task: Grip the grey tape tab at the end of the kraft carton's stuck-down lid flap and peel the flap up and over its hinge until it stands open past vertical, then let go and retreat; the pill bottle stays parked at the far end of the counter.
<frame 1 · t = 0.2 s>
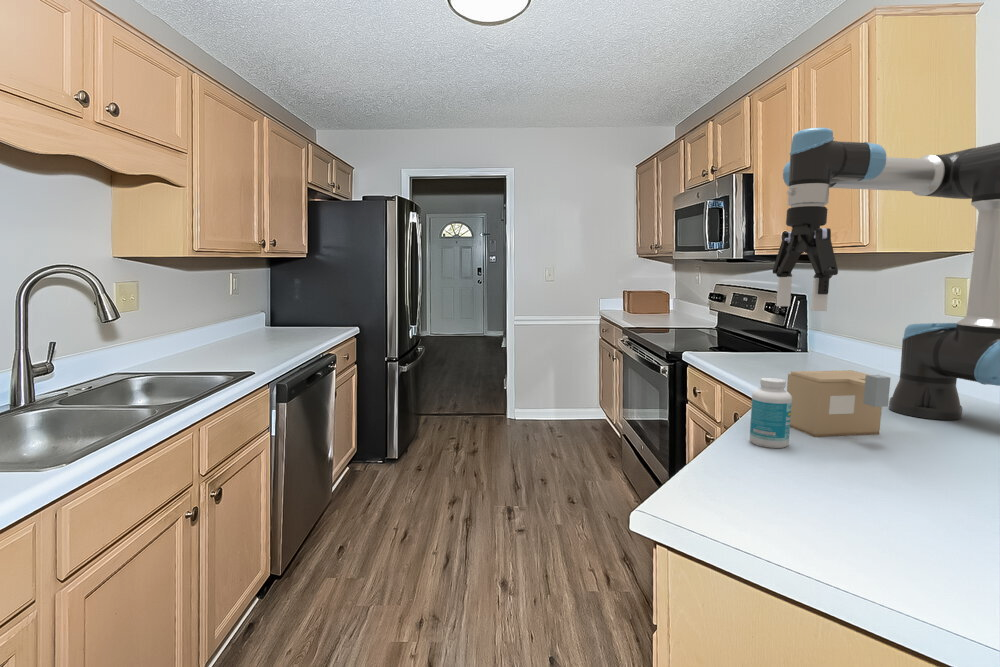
hand: (799, 308, 123), 28 cm above the counter, fingers open, 13 cm apart
flap: (849, 383, 125), point 12 cm above the counter, hinge at 0.0°
carton: (830, 429, 131), on the counter
pill bottle: (768, 444, 120), on the counter
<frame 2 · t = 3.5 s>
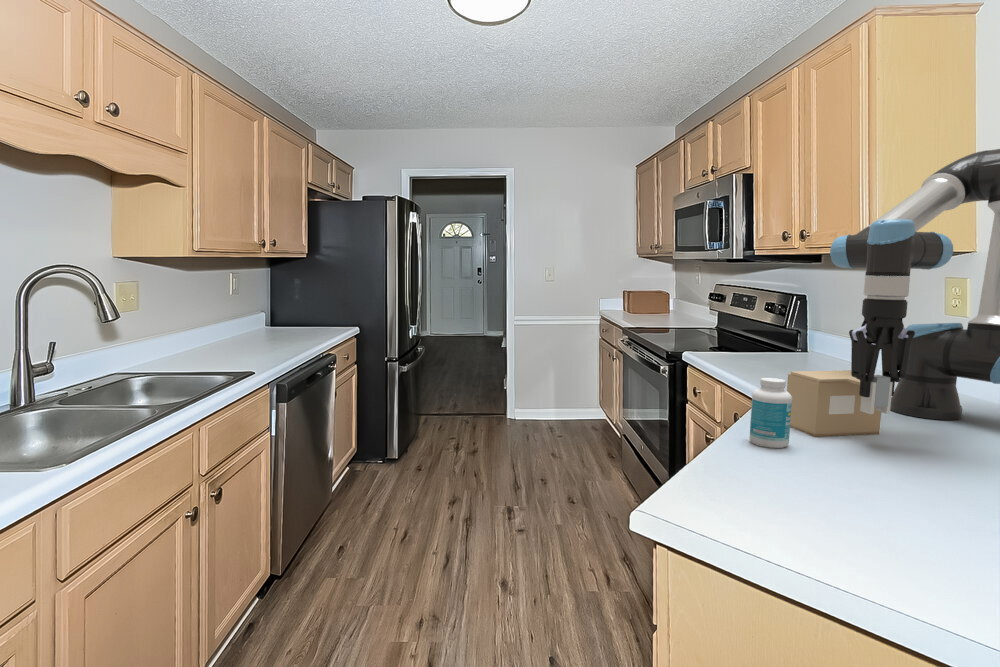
hand: (874, 411, 119), 7 cm above the counter, fingers closed on flap, 3 cm apart
flap: (849, 383, 125), point 11 cm above the counter, hinge at 0.0°, touching gripper
everything else where it was.
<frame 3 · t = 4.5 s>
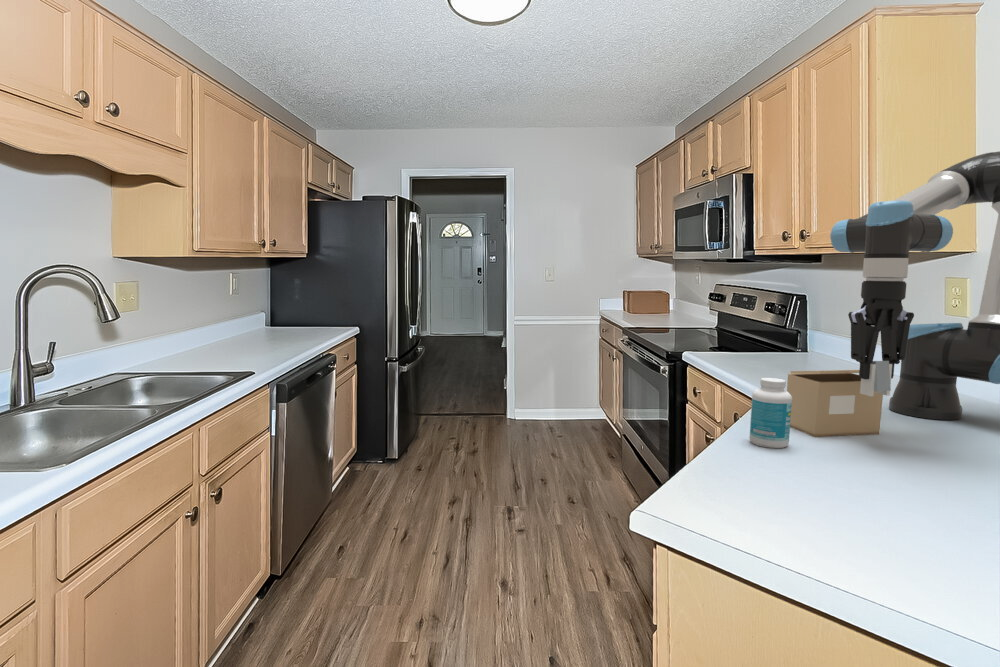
hand: (874, 394, 119), 11 cm above the counter, fingers closed on flap, 3 cm apart
flap: (850, 375, 125), point 13 cm above the counter, hinge at 10.7°, touching gripper
everything else where it was.
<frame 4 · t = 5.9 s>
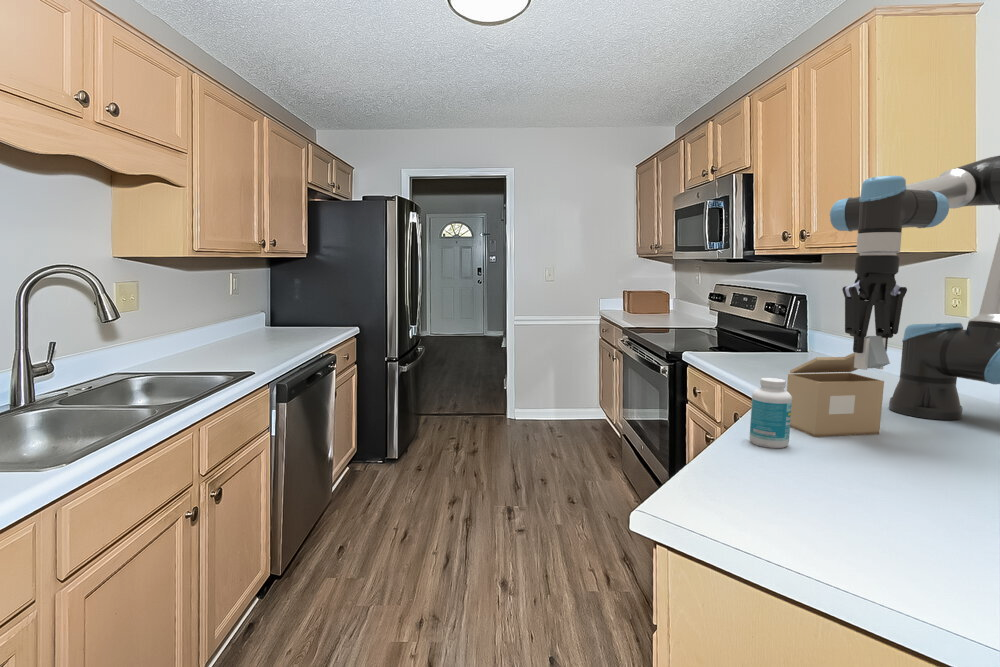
hand: (868, 368, 120), 16 cm above the counter, fingers closed on flap, 3 cm apart
flap: (848, 363, 126), point 16 cm above the counter, hinge at 27.9°, touching gripper
everything else where it was.
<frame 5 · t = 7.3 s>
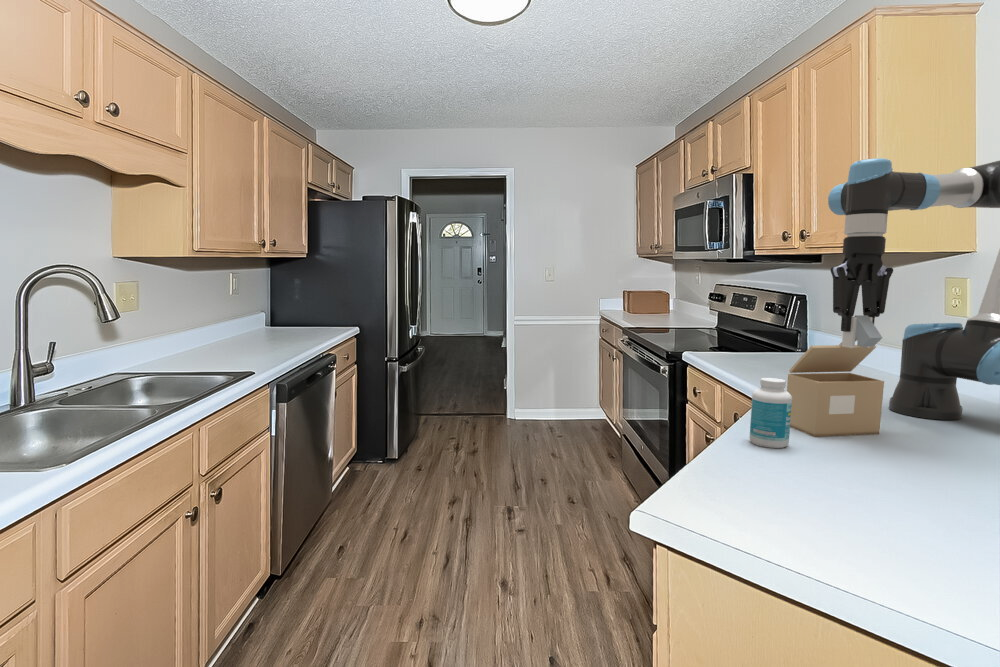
hand: (855, 346, 124), 20 cm above the counter, fingers closed on flap, 3 cm apart
flap: (844, 351, 127), point 18 cm above the counter, hinge at 45.3°, touching gripper
everything else where it was.
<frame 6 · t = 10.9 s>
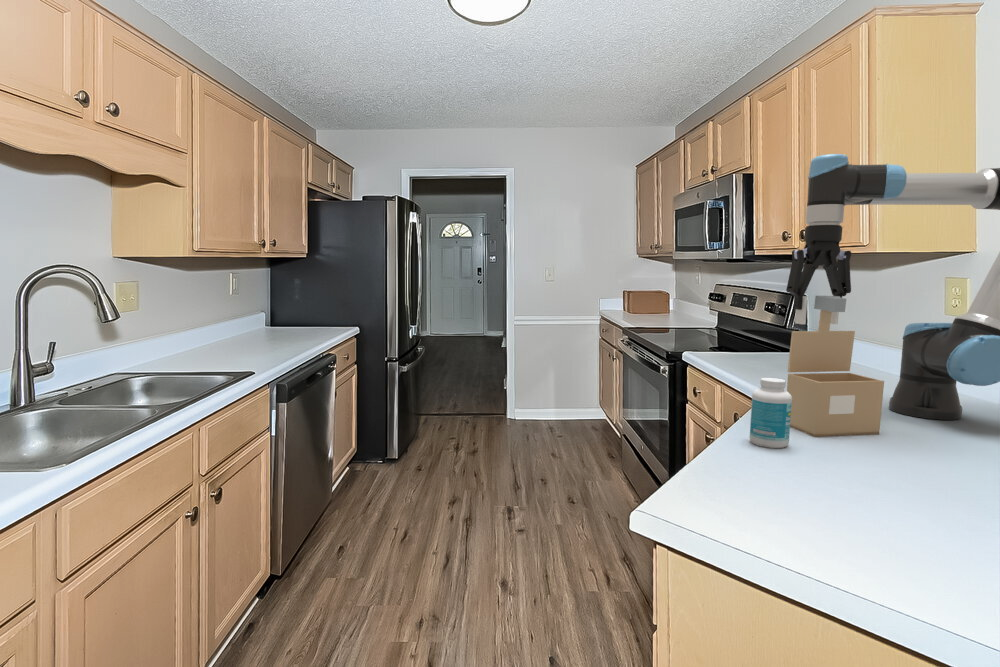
hand: (816, 323, 135), 23 cm above the counter, fingers open, 8 cm apart
flap: (826, 335, 132), point 21 cm above the counter, hinge at 86.9°
everything else where it was.
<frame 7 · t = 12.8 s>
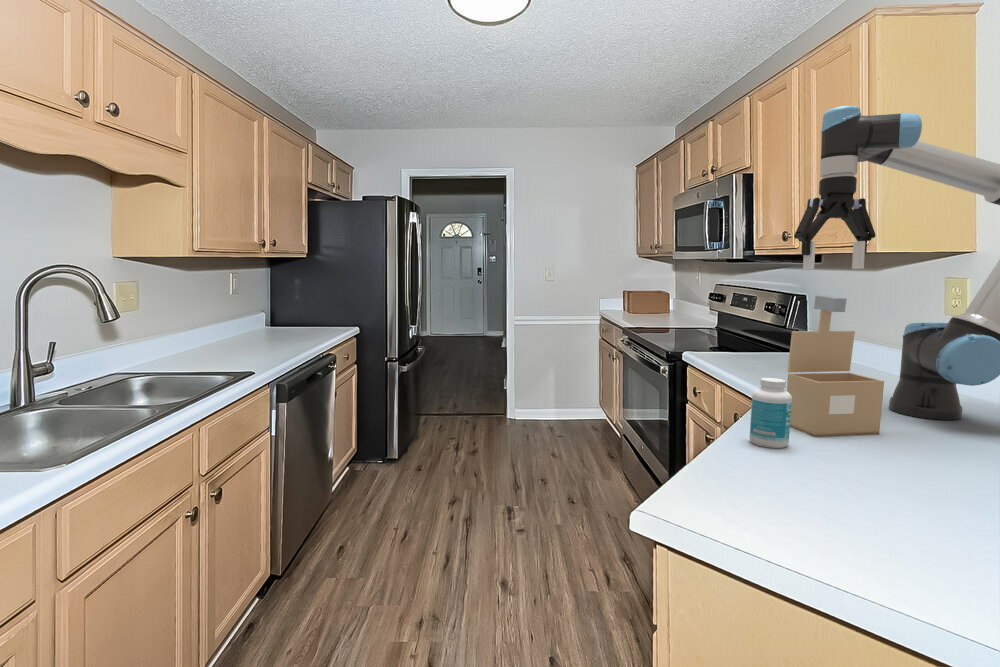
hand: (833, 269, 137), 36 cm above the counter, fingers open, 13 cm apart
nothing on the counter moved.
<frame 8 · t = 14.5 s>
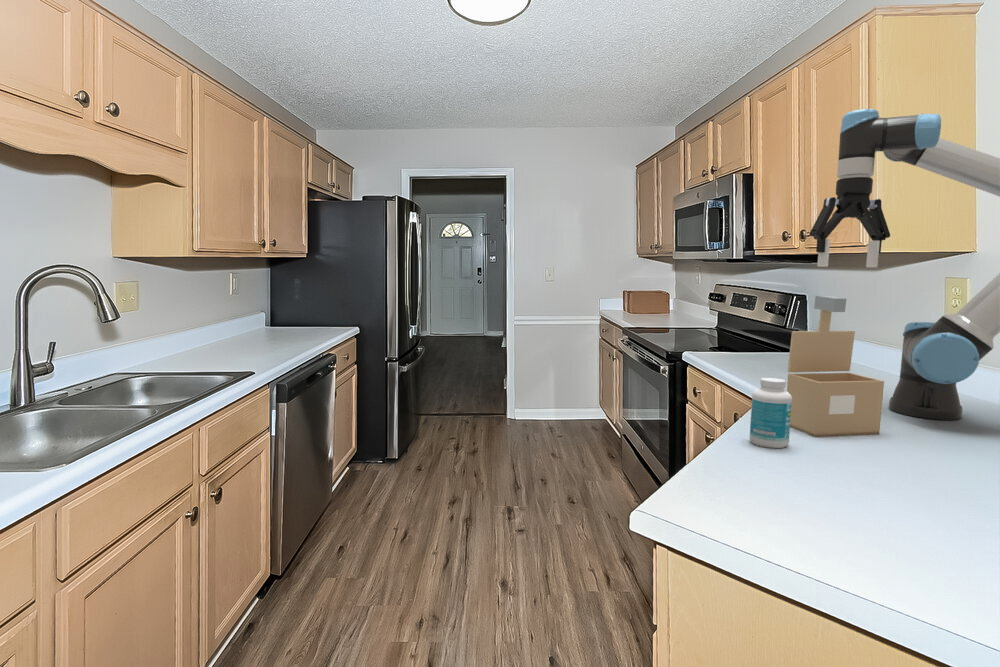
hand: (847, 267, 141), 37 cm above the counter, fingers open, 13 cm apart
nothing on the counter moved.
at the end: flap at +87° (first picture: +0°); the gripper is holding nothing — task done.
